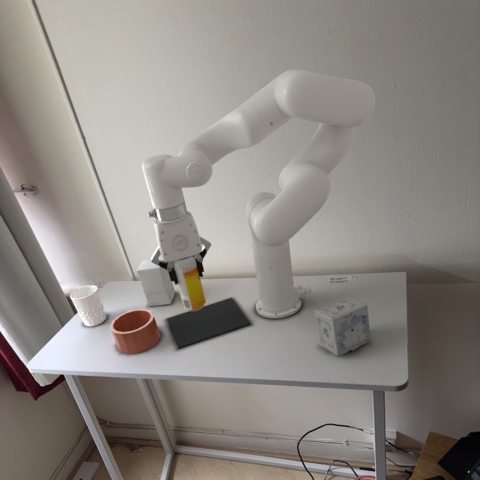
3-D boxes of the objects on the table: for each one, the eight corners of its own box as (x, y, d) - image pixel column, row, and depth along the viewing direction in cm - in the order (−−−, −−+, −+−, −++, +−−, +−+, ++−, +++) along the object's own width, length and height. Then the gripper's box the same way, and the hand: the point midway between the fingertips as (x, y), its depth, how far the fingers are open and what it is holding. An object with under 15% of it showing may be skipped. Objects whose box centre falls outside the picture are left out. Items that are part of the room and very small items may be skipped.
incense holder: (348, 328, 103) (347, 292, 98) (372, 344, 97) (372, 306, 91) (315, 343, 101) (312, 306, 95) (337, 361, 94) (335, 322, 88)
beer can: (210, 301, 114) (198, 250, 106) (199, 313, 110) (186, 261, 101) (191, 299, 117) (178, 249, 108) (179, 311, 112) (165, 260, 104)
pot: (156, 323, 120) (150, 304, 117) (163, 344, 111) (156, 324, 107) (116, 336, 118) (108, 317, 115) (120, 359, 109) (112, 338, 105)
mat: (231, 299, 125) (231, 297, 125) (250, 324, 112) (250, 323, 112) (166, 319, 121) (166, 318, 121) (178, 349, 108) (178, 347, 108)
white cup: (84, 330, 124) (72, 302, 118) (80, 319, 130) (68, 291, 124) (110, 320, 126) (99, 292, 121) (105, 310, 132) (94, 282, 127)
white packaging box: (176, 292, 134) (165, 256, 128) (170, 304, 128) (159, 267, 122) (154, 294, 136) (143, 259, 129) (147, 306, 130) (135, 270, 123)
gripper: (136, 225, 94) (158, 294, 104) (209, 206, 97) (223, 274, 107) (132, 216, 100) (153, 282, 110) (201, 198, 104) (215, 264, 113)
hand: (188, 278), depth 108 cm, fingers closed on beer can, 6 cm apart
